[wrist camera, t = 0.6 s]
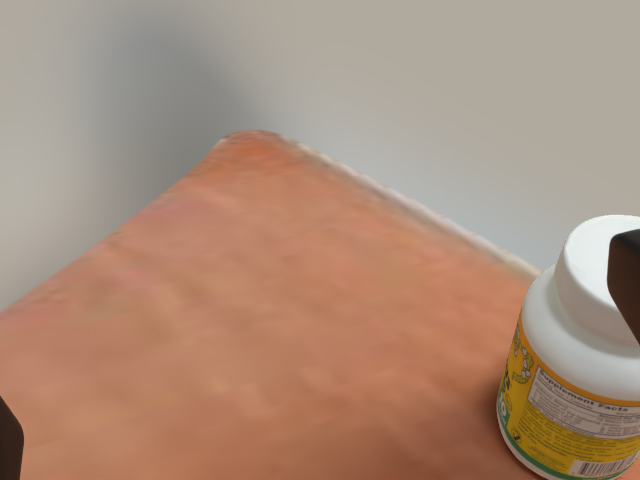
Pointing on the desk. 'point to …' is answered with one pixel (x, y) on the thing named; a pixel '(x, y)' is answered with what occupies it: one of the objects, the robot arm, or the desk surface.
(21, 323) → the desk surface
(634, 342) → the supplement bottle
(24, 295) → the desk surface
